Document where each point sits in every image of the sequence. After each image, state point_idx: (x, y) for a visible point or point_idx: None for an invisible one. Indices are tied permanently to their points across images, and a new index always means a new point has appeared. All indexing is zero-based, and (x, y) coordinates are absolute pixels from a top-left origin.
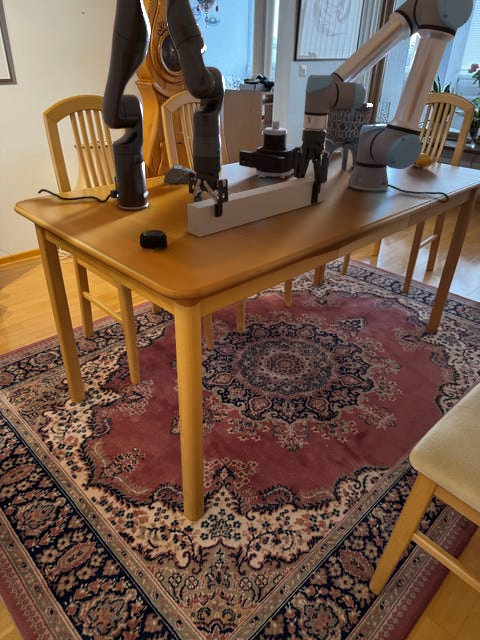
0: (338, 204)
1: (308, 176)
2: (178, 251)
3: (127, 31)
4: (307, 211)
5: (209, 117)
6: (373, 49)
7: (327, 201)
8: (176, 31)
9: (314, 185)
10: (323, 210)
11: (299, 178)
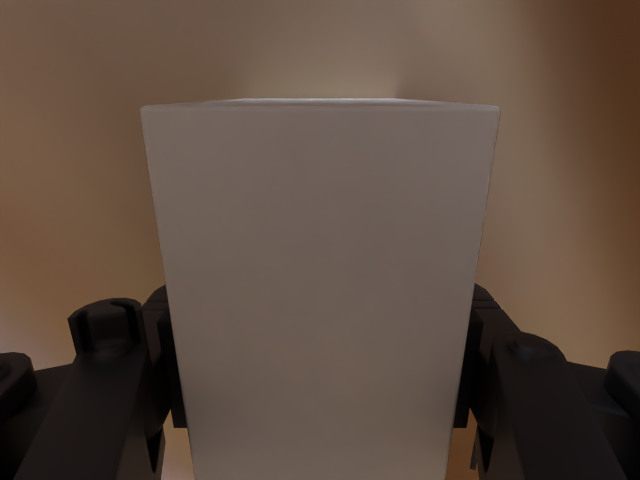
0: (583, 61)
1: (174, 309)
2: None
3: None
4: (467, 421)
5: None
6: None
7: (434, 57)
8: None
9: (461, 413)
10: (551, 325)
11: (150, 452)
